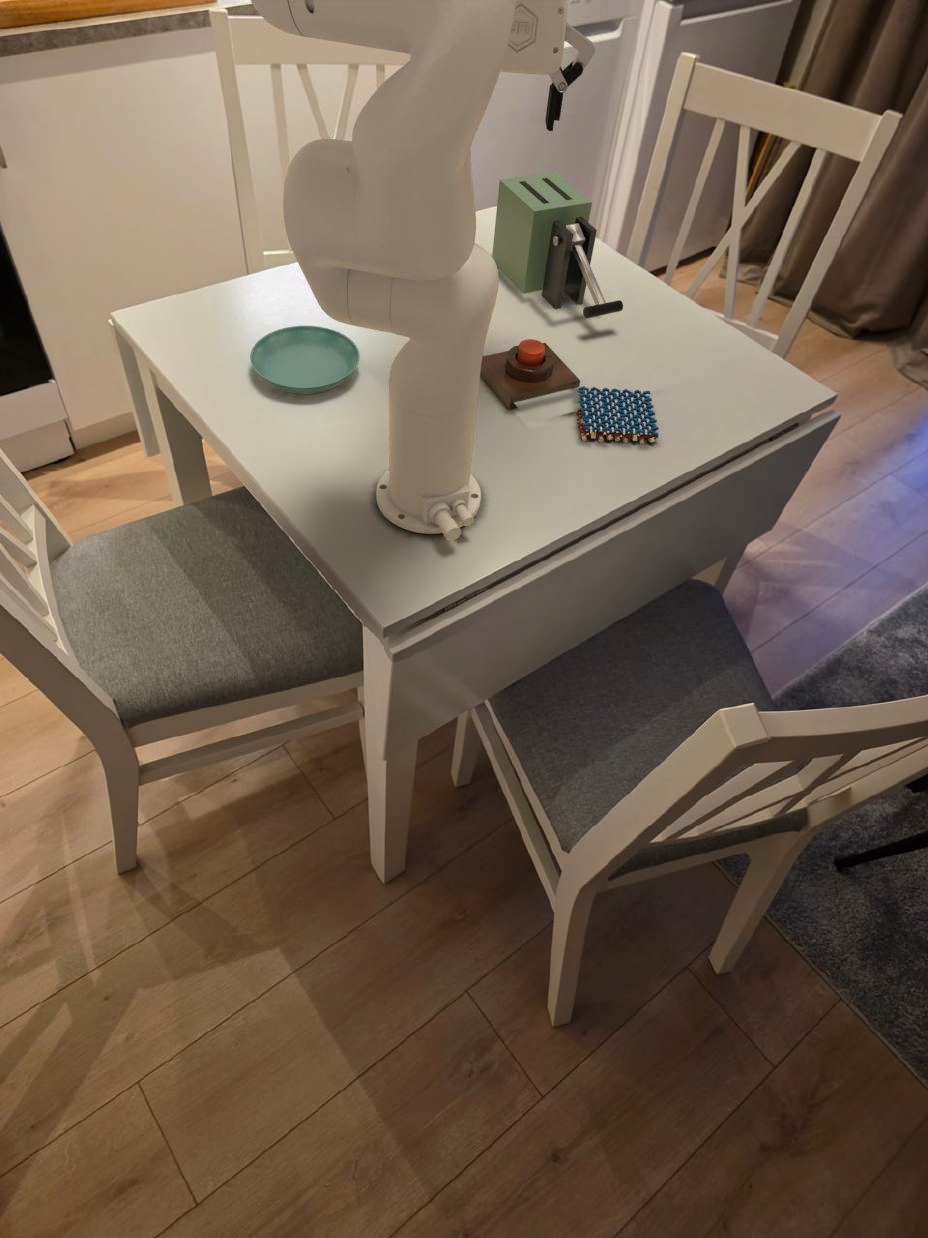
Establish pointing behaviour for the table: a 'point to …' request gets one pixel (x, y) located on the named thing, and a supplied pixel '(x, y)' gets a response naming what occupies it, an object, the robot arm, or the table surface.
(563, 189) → the toaster
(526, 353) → the button
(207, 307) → the table surface
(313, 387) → the saucer
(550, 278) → the bracket
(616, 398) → the woven mat
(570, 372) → the control block
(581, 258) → the lever
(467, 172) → the robot arm
